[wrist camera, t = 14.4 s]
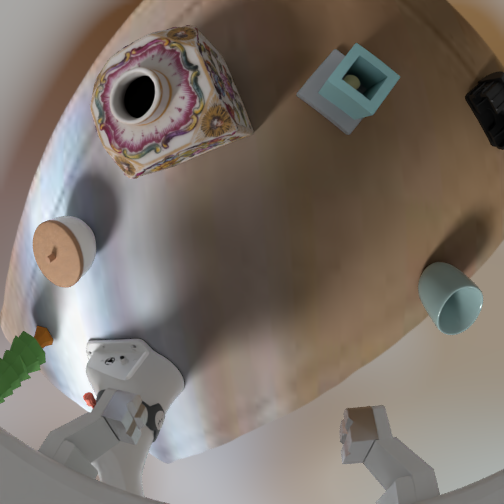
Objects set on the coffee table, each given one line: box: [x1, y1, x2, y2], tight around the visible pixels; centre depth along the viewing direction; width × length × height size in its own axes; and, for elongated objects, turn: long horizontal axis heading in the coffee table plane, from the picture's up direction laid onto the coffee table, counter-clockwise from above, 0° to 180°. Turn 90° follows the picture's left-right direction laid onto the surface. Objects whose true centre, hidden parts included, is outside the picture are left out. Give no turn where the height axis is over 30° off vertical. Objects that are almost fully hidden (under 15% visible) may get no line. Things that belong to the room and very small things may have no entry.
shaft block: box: [296, 49, 367, 135], centre depth 29 cm, size 8×8×7 cm
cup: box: [418, 262, 483, 335], centre depth 35 cm, size 8×8×10 cm
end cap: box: [465, 72, 504, 150], centre depth 25 cm, size 10×7×7 cm
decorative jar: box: [90, 25, 254, 179], centre depth 26 cm, size 12×12×18 cm
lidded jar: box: [33, 216, 96, 287], centre depth 39 cm, size 11×11×9 cm
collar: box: [318, 43, 400, 120], centre depth 26 cm, size 5×5×8 cm
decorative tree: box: [0, 326, 53, 403], centre depth 41 cm, size 10×9×30 cm
